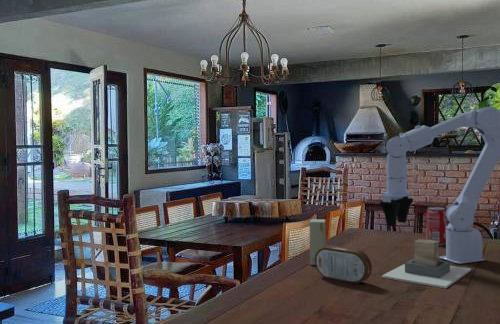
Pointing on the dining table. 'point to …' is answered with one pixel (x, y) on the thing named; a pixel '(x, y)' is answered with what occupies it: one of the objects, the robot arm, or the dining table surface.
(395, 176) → the robot arm
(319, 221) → the skincare box
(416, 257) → the birch peg
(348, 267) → the tin
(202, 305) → the dining table surface
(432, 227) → the soda can
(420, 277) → the peg socket
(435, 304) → the dining table surface
